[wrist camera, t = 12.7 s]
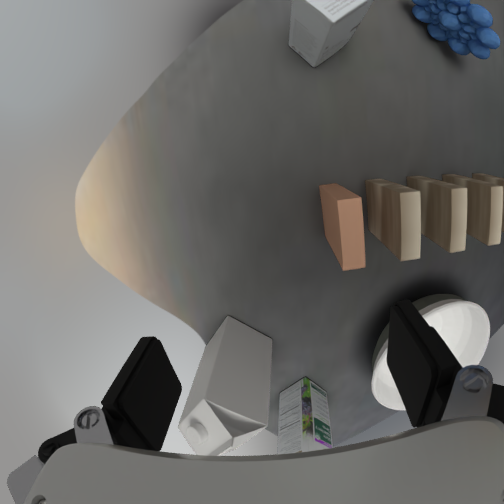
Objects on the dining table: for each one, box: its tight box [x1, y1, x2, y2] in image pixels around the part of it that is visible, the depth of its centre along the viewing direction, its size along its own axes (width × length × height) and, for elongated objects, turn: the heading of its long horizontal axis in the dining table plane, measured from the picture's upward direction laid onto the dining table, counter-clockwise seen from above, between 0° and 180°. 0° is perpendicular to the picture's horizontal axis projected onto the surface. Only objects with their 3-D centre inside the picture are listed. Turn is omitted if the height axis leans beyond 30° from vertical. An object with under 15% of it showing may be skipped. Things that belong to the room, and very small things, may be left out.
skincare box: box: [288, 0, 374, 67], centre depth 19 cm, size 6×4×12 cm
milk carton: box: [178, 316, 272, 456], centre depth 30 cm, size 7×7×19 cm
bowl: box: [371, 294, 490, 410], centre depth 32 cm, size 19×19×8 cm
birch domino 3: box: [442, 174, 503, 246], centre depth 24 cm, size 2×6×10 cm, turn 10°
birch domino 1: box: [365, 179, 421, 261], centre depth 26 cm, size 2×6×10 cm, turn 9°
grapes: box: [412, 0, 500, 59], centre depth 16 cm, size 12×7×12 cm, turn 44°
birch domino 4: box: [472, 173, 504, 232], centre depth 24 cm, size 2×6×10 cm, turn 9°
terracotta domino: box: [319, 183, 365, 271], centre depth 27 cm, size 2×6×10 cm, turn 10°
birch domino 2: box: [407, 176, 467, 253], centre depth 25 cm, size 2×6×10 cm, turn 10°
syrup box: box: [277, 377, 333, 455], centre depth 35 cm, size 6×6×14 cm
